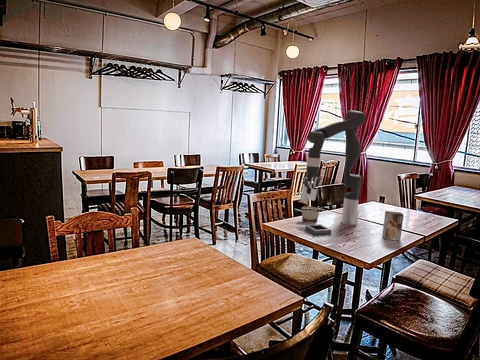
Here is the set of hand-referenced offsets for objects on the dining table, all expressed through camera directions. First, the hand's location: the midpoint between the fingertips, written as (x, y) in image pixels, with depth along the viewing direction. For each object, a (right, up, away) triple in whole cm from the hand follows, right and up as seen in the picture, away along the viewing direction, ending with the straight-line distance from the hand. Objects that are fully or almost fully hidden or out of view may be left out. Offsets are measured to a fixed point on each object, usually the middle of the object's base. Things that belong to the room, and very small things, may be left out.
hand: (310, 193), depth 223 cm
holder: (+4, -24, 0) cm, 24 cm away
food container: (+3, -20, +23) cm, 31 cm away
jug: (-2, -5, +3) cm, 6 cm away
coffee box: (+48, -27, -1) cm, 55 cm away
